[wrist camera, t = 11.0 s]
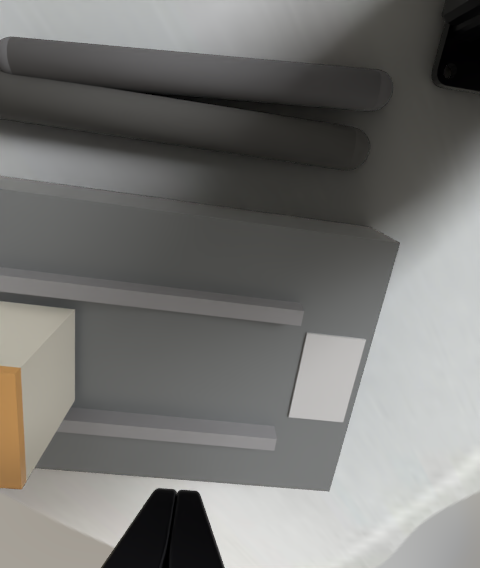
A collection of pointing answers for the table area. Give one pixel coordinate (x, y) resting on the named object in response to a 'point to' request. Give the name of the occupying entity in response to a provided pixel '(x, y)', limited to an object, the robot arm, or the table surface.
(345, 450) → the table surface
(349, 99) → the grey thin rod
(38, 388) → the toggle
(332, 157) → the grey rounded rod
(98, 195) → the grey tray
